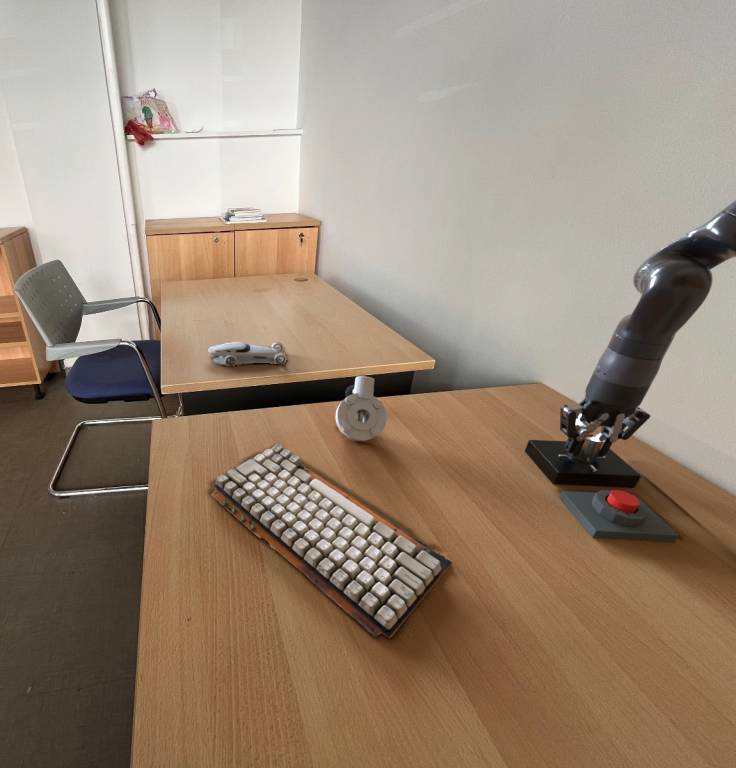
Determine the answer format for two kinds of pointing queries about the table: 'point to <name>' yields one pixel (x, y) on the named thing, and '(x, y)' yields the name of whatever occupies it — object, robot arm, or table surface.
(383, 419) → the mechanical valve
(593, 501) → the button box
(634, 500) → the button
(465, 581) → the table surface
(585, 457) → the knob
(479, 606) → the table surface
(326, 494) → the mechanical keyboard
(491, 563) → the table surface
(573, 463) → the panel
